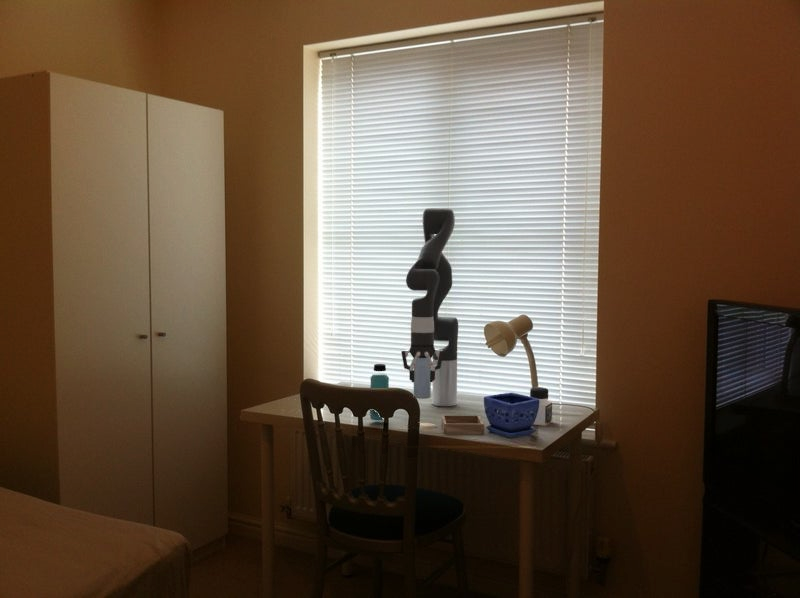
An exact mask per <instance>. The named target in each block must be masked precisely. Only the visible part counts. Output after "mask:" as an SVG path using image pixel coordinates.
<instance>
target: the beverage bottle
mask: <svg viewBox="0 0 800 598" xmlns="http://www.w3.org/2000/svg"><path fill="white" fill-rule="evenodd" d="M386 366H387V365H386V364H383V363H376V364H373V371H374V372H378V373H373V374H372V375H371V376H370V388H390V387H389V386H390V383H389V381H390V377H389V375H388V374H386V373H381V372H386V371H387V367H386ZM379 372H380V373H379ZM370 388H369V389H370ZM369 418H370V420H372V421H380V422H381V421H384V420H383V419H382V418H381V417H379V415H378V413H377V412H375V411H374V410H370V409H369Z"/></svg>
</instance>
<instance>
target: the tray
mask: <svg viewBox="0 0 800 598" xmlns="http://www.w3.org/2000/svg"><path fill="white" fill-rule="evenodd" d="M441 427H442V431H443V434H444V435H446V434H451V435H453V434H455V435H456V434H457V435H458V434H459V435H462V434H463V435H465V434H466V435H467V434H469V435H472V434H473V435H481V434H485V423H484V422H483V420H482V417H481V415H480V414H441Z"/></svg>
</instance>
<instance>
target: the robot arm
mask: <svg viewBox="0 0 800 598" xmlns="http://www.w3.org/2000/svg"><path fill="white" fill-rule="evenodd" d="M455 217H456V215H455V213H454V210H453V209H452V208H448V207H447V208H446V207H434V208H433V207H430V208H425V209H424V210H423V213H422V218H421V219H422V220H421V221H422V230H423V238H424V239H423V240H424V244H423V246H422V247H421V249H420V251H419V255H418V257H417V260H416V261H415V263H414V264H413V265H412V266H411V267H410V268H409V270H408V272H407V275H406V279H405V282H406V286H407V288H408V289H409V290H411V291H413V292H415V291H418V292H419V291H420V292H421V291H423V292H424V291H425V292H426V294H425V296H422V297H418V298H413V300H412V301H411V319H410V347H409V349H406V350H405V349H402V350H401V358H402V363H403V368H404V369H405V370H408V372H409V381H411V383H414V367H415V364H416V358H429V364H430V367H431V383H432V392H431V393H432V395H431V400H432V401H431V403H432V405H433V406H437V407H454V406H456V405H457V401H458V395H457V394H458V340H459V339H458V337H459V321H458V318H457V317H455V316H439V309H440V307H441V305H442V303H443V301H444V300H445V299H446V297H447V296H448V294H449V293H450V291H451V289H452V287H453V267H452V265H451V264H450V261H449V260H448V259H447V258H446V256H445V255H444V253H443V251H444V249H445V247H446V245H447V243H448V241H449V240H450V238H451V236H452V234H453V232H454V229H455V222H456V218H455ZM435 341H436V342H439V341H440V342H448V344H447V345H446V346H444V347H441V348H440V349H435ZM409 354H410V355H411V357H412V360H411V363H410V365H408V361H407V357H408V356H409Z"/></svg>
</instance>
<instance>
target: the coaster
mask: <svg viewBox="0 0 800 598" xmlns="http://www.w3.org/2000/svg"><path fill="white" fill-rule="evenodd" d="M419 423H420V430H419V431H431V430H435V429H437V427H438V426H437V425H436V424H434V423H429V422H419ZM406 428H407V425H406Z"/></svg>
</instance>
